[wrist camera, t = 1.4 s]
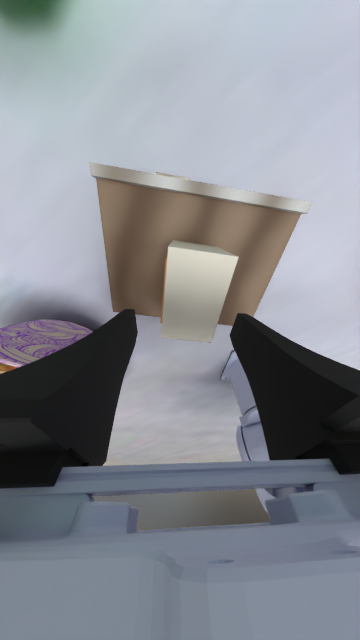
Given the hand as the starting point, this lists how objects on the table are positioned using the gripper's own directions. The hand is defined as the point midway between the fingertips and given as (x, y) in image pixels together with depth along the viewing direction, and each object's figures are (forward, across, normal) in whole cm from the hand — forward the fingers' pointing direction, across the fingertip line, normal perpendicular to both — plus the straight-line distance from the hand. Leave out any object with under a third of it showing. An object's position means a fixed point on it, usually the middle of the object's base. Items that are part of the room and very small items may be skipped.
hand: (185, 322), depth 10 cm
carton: (+9, -1, 0) cm, 9 cm away
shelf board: (+11, -1, -1) cm, 11 cm away
